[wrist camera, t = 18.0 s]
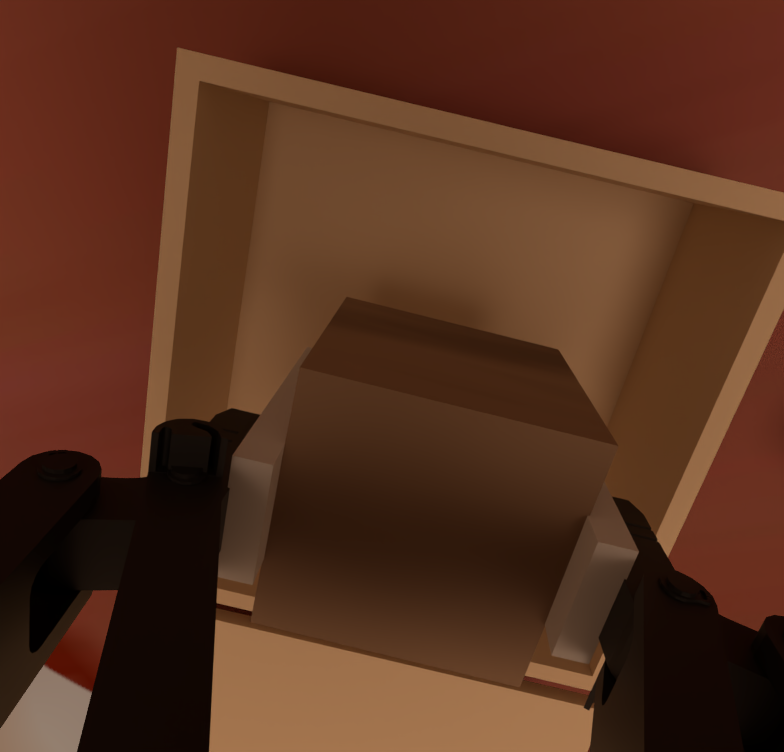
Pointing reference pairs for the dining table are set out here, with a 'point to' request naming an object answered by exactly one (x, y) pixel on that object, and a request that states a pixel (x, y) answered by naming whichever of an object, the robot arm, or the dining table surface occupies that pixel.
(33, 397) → the dining table surface
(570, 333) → the box
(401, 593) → the block
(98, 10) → the dining table surface
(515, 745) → the lid
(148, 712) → the robot arm
